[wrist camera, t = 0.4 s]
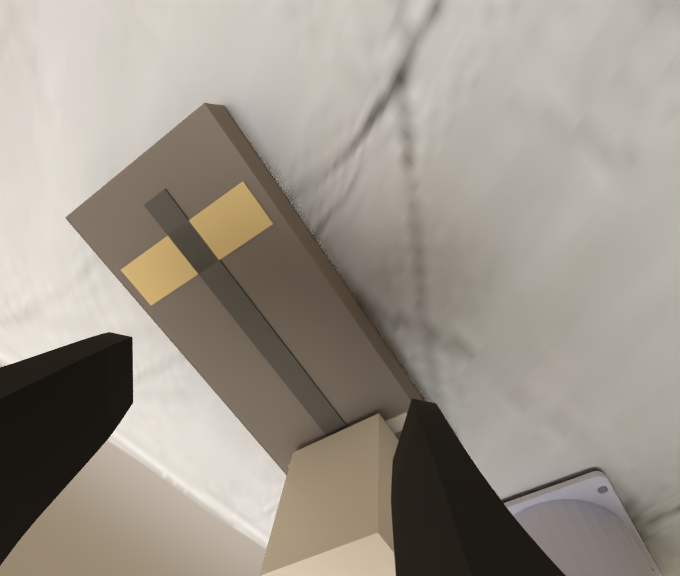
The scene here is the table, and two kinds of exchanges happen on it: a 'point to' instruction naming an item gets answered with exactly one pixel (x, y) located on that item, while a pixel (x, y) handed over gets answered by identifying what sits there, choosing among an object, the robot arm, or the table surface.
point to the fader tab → (337, 507)
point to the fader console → (243, 287)
